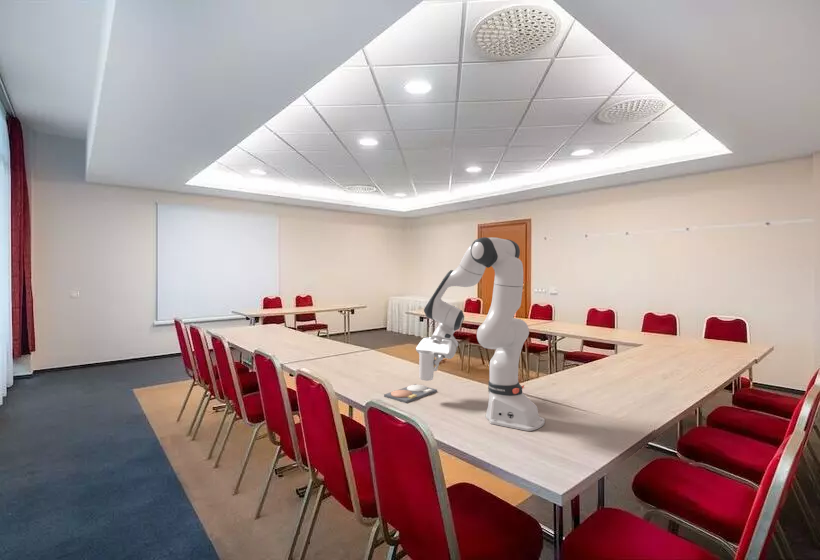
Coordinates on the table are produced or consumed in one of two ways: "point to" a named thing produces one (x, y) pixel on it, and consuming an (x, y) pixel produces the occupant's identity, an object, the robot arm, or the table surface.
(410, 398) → the grey food tray
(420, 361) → the mug
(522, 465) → the table surface
